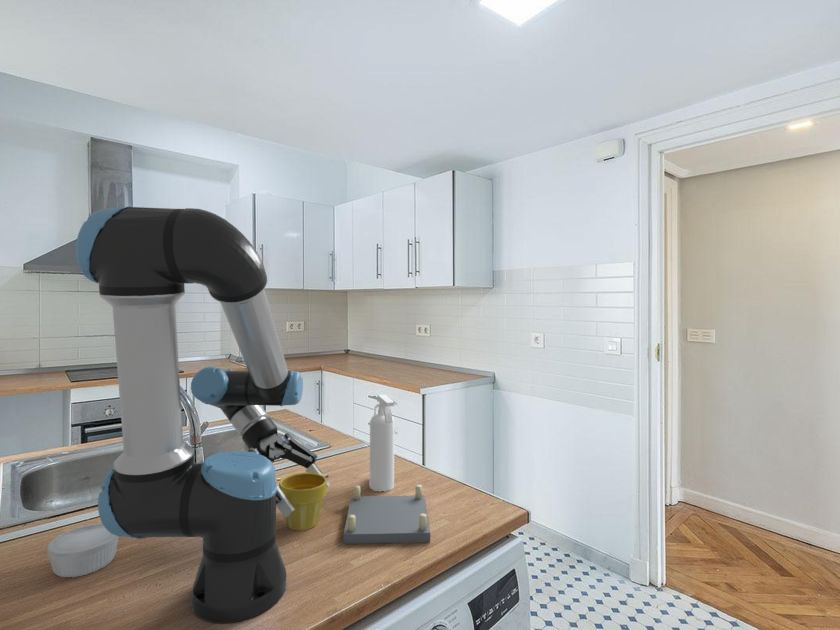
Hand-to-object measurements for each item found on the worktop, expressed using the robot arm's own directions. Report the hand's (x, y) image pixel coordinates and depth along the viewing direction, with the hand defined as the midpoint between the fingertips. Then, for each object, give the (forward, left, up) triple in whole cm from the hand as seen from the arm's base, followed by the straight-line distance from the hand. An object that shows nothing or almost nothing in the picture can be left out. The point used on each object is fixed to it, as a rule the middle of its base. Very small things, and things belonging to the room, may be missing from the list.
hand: (309, 500), depth 103 cm
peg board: (0, -18, -5) cm, 18 cm away
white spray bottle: (+20, -16, -5) cm, 26 cm away
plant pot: (0, +1, -5) cm, 6 cm away
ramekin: (-14, +39, -6) cm, 42 cm away
